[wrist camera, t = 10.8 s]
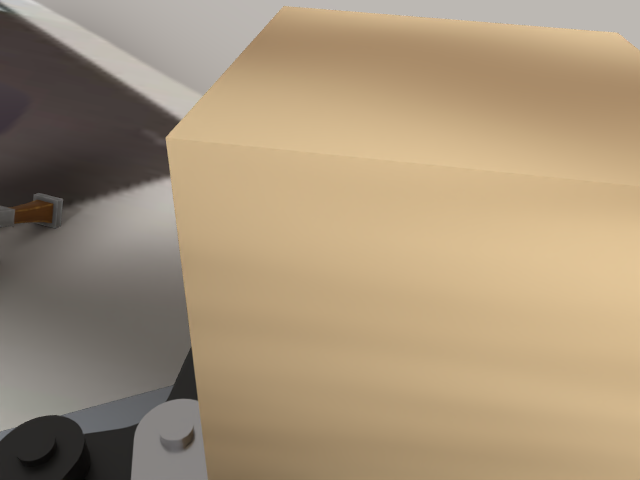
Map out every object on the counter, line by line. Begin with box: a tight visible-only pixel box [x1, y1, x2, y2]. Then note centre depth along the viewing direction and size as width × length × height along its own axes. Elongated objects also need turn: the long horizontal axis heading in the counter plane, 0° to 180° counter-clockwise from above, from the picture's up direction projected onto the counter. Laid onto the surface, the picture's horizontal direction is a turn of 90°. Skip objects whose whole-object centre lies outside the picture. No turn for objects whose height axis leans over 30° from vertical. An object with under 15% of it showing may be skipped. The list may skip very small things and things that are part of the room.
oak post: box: [166, 6, 640, 480], centre depth 10 cm, size 5×5×14 cm
